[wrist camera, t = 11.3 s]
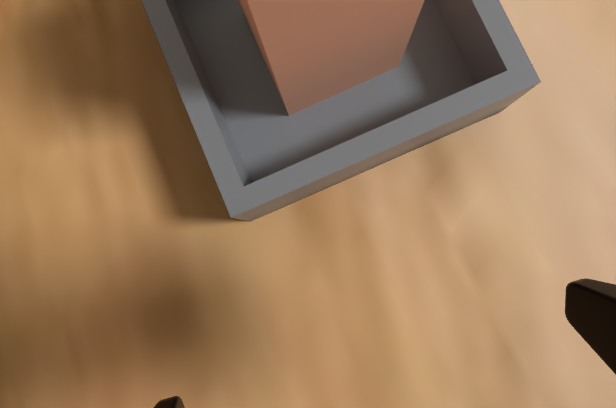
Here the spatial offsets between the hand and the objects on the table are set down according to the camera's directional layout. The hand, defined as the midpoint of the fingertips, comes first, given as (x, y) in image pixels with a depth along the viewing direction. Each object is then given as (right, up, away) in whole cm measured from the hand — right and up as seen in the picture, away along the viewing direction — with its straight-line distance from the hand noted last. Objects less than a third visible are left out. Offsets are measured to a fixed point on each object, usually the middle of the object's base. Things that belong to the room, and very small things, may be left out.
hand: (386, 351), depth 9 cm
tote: (-1, +12, +13) cm, 17 cm away
